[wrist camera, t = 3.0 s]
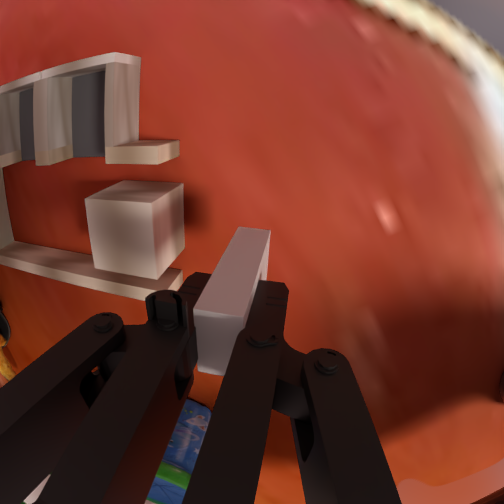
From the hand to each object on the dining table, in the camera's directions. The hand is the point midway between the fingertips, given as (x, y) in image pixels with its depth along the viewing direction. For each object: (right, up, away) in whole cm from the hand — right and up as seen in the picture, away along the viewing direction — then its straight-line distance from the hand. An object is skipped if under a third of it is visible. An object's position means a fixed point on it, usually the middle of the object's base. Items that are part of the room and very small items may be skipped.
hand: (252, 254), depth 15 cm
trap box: (-14, +6, +5) cm, 17 cm away
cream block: (-7, +3, +6) cm, 9 cm away
